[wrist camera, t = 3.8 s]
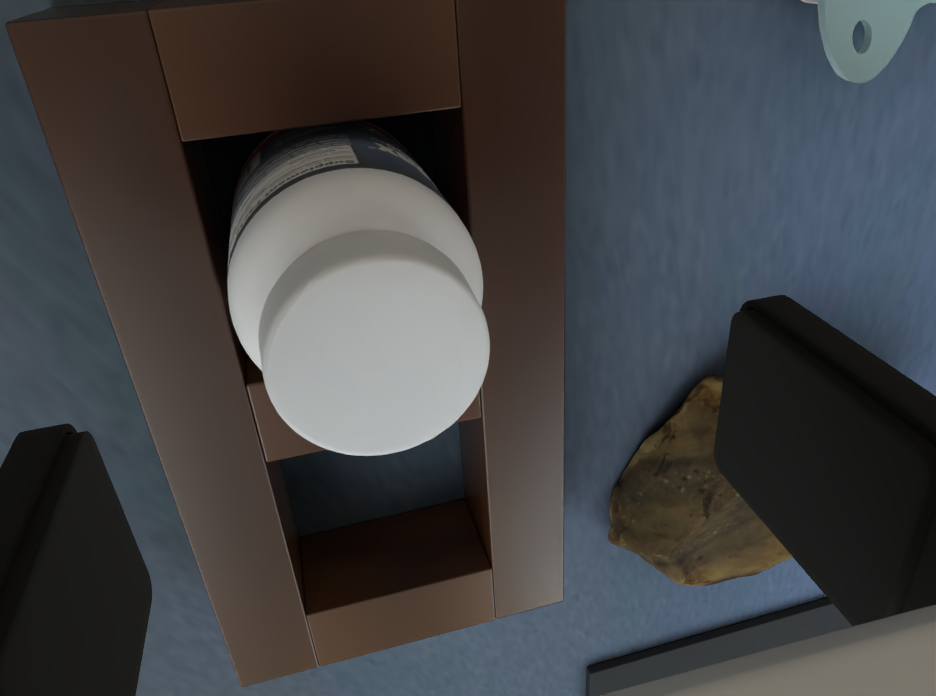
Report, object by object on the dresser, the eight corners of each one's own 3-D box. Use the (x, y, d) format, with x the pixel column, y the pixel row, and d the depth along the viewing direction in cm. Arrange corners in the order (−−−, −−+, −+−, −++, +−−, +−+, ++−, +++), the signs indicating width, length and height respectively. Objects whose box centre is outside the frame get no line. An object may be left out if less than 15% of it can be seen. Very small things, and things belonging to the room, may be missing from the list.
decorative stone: (721, 577, 33) (769, 640, 30) (568, 526, 28) (607, 594, 25) (881, 398, 30) (952, 449, 27) (738, 310, 25) (803, 359, 22)
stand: (241, 603, 26) (240, 688, 23) (47, 8, 16) (2, 22, 13) (530, 532, 28) (564, 601, 25) (515, -33, 18) (568, -28, 15)
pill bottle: (455, 241, 21) (568, 402, 14) (301, 326, 21) (329, 533, 14) (369, 72, 18) (452, 160, 11) (191, 170, 18) (153, 325, 11)
